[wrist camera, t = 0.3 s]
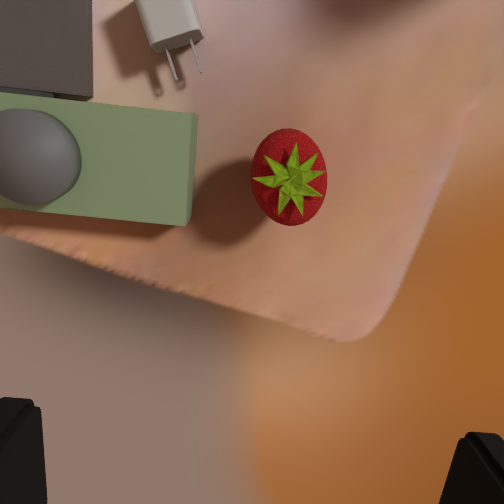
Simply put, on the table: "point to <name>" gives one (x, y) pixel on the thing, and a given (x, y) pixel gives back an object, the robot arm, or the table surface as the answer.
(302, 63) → the table surface
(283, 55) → the table surface
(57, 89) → the grey plate with ledge
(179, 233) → the table surface
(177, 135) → the green slab with knob
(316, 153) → the strawberry
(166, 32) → the usb wall charger
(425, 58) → the table surface
